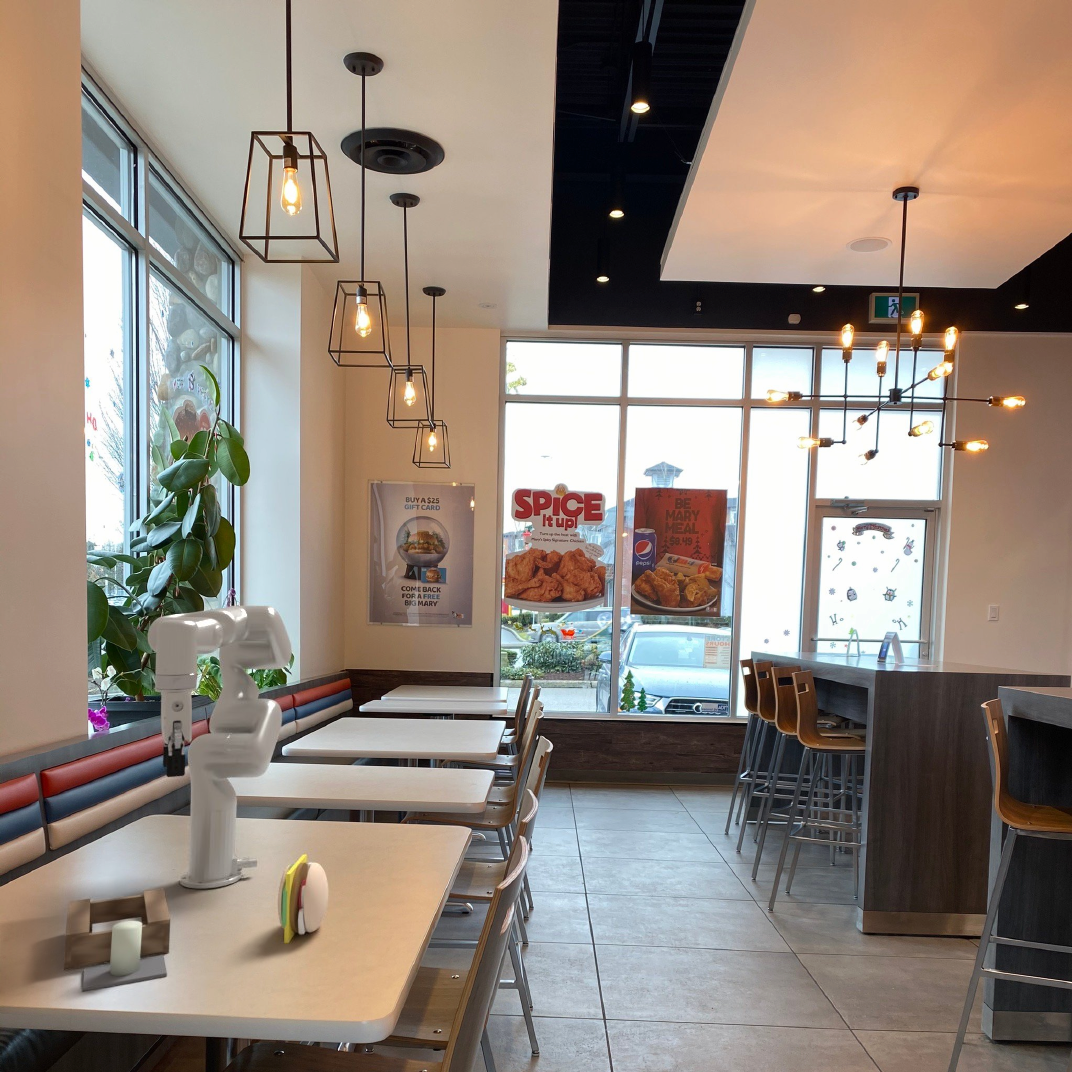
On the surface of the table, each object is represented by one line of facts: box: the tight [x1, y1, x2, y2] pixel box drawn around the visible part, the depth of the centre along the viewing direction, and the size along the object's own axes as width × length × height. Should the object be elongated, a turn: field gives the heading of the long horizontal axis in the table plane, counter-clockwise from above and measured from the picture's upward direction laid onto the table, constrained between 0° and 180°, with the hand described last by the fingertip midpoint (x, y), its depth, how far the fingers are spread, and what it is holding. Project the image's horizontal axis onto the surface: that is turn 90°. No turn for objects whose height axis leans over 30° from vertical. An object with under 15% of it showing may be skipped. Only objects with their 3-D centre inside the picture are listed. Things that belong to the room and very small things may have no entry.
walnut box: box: [63, 888, 171, 971], centre depth 151 cm, size 16×18×6 cm
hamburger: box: [277, 854, 329, 944], centre depth 157 cm, size 12×8×12 cm
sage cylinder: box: [109, 921, 142, 976], centre depth 139 cm, size 4×4×7 cm
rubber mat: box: [82, 954, 168, 992], centre depth 138 cm, size 12×8×1 cm, turn 117°
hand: (173, 771), depth 165 cm, fingers open, 9 cm apart
